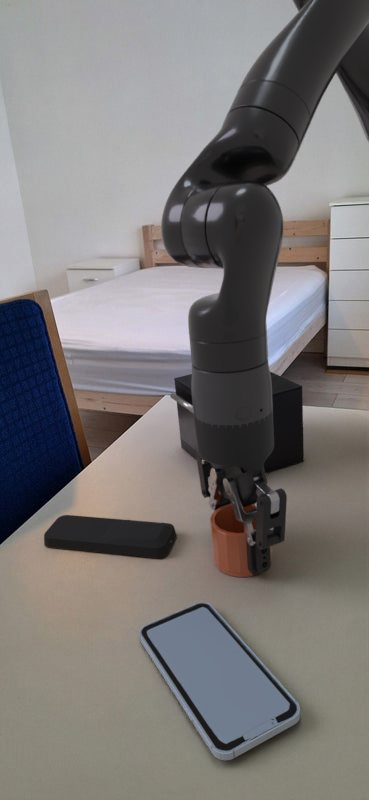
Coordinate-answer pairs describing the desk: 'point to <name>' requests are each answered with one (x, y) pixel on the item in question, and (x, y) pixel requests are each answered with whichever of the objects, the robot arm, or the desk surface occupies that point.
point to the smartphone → (218, 680)
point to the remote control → (111, 536)
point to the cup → (230, 541)
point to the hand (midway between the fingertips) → (242, 553)
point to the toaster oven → (284, 421)
